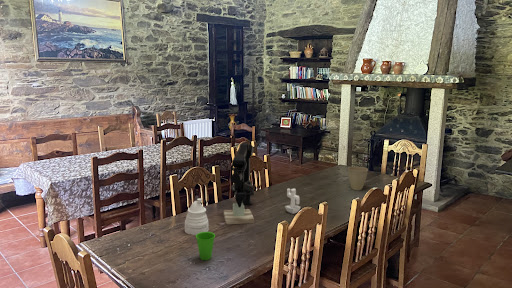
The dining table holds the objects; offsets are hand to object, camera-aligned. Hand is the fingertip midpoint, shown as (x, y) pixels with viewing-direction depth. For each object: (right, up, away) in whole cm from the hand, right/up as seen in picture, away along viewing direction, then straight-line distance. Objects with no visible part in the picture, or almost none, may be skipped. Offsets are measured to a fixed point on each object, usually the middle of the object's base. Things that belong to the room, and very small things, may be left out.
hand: (238, 204), depth 229 cm
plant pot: (+87, +1, +66) cm, 109 cm away
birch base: (0, -8, +2) cm, 9 cm away
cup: (-13, -17, -48) cm, 52 cm away
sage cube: (0, -6, +1) cm, 6 cm away
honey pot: (-22, -12, -16) cm, 30 cm away
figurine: (+33, -7, +14) cm, 37 cm away
